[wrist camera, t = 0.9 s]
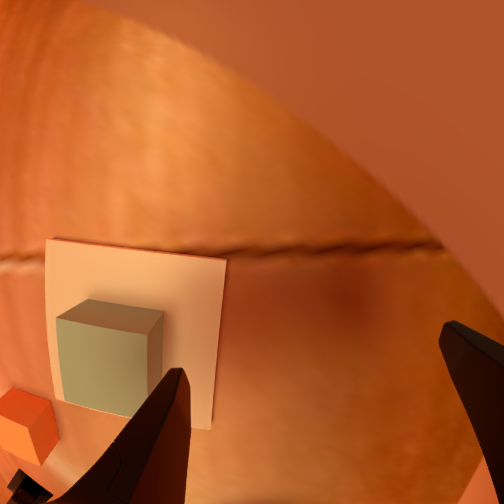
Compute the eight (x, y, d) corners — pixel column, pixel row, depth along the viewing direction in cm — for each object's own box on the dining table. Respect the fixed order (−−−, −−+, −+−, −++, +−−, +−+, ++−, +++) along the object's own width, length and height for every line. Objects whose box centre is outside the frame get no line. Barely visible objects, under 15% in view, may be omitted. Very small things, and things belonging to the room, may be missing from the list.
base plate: (211, 421, 23) (210, 429, 22) (61, 392, 22) (55, 398, 21) (226, 258, 22) (226, 260, 21) (53, 238, 21) (46, 239, 20)
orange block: (59, 438, 23) (40, 466, 18) (23, 424, 22) (1, 448, 17) (51, 400, 22) (27, 427, 17) (13, 386, 22) (-13, 409, 17)
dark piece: (38, 513, 24) (29, 531, 19) (1, 483, 23) (-11, 499, 19) (62, 493, 24) (51, 515, 19) (17, 456, 23) (2, 476, 18)
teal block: (161, 384, 22) (148, 420, 17) (90, 370, 21) (64, 400, 16) (164, 310, 21) (147, 335, 16) (87, 298, 20) (55, 317, 16)
